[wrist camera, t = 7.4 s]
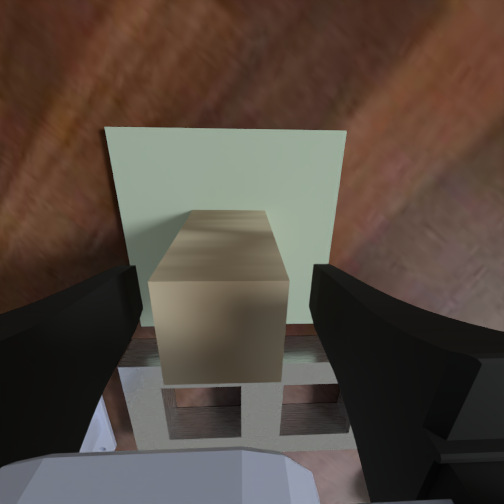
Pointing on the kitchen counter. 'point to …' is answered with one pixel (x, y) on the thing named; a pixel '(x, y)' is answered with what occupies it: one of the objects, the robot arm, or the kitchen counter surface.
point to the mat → (228, 193)
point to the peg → (221, 301)
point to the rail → (236, 417)
